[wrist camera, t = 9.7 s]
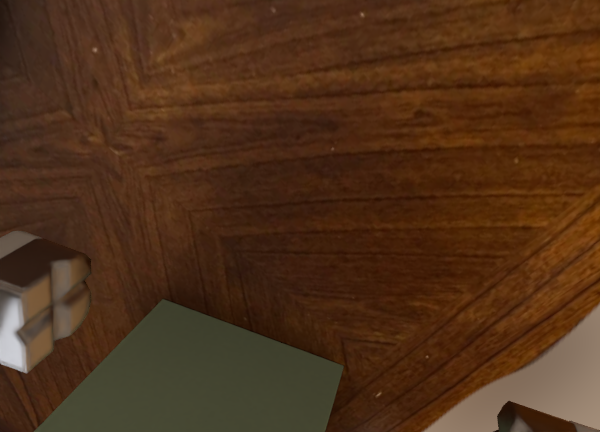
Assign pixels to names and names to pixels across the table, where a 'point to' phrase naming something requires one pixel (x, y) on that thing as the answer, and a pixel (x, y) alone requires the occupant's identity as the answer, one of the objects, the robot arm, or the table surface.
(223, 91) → the table surface
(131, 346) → the toaster
